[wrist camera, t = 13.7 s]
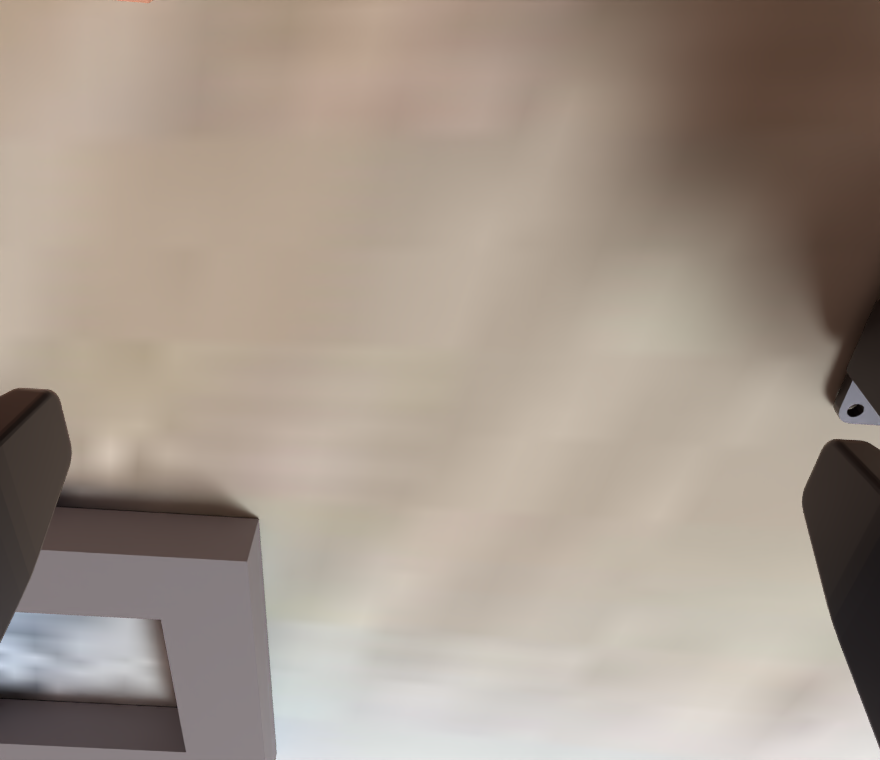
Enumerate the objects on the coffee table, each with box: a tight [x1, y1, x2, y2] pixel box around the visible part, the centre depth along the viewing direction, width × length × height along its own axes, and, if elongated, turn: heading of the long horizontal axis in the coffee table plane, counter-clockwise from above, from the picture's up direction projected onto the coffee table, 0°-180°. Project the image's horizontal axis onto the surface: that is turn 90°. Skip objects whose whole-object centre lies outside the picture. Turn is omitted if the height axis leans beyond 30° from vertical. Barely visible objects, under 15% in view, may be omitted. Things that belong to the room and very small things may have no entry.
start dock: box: [0, 507, 277, 760], centre depth 31 cm, size 15×15×2 cm
